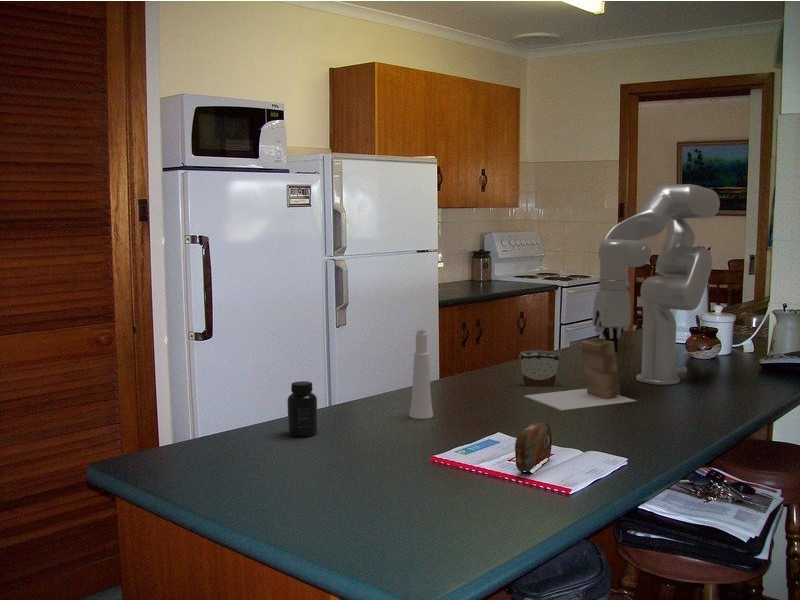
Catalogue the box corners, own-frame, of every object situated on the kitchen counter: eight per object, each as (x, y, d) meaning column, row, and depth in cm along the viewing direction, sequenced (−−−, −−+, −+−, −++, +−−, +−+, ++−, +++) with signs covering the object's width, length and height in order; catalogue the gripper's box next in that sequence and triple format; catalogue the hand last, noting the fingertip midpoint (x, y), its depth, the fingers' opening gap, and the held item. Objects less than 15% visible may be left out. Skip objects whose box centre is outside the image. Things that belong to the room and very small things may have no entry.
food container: (558, 383, 243) (559, 350, 242) (560, 388, 237) (561, 354, 236) (517, 382, 245) (517, 349, 243) (518, 387, 238) (518, 353, 237)
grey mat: (595, 388, 236) (595, 387, 236) (636, 402, 219) (637, 400, 219) (524, 396, 226) (524, 395, 226) (562, 411, 210) (562, 409, 210)
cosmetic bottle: (404, 416, 205) (404, 329, 203) (420, 411, 210) (420, 327, 207) (422, 420, 201) (422, 332, 199) (438, 415, 206) (438, 329, 203)
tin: (527, 479, 158) (527, 436, 157) (511, 476, 159) (512, 434, 158) (553, 458, 171) (553, 419, 170) (538, 456, 172) (539, 417, 171)
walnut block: (601, 388, 230) (595, 337, 228) (620, 394, 223) (614, 341, 220) (587, 393, 229) (580, 341, 226) (605, 399, 221) (598, 346, 219)
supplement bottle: (322, 431, 192) (321, 381, 191) (310, 438, 185) (309, 387, 184) (296, 428, 194) (295, 379, 193) (282, 436, 188) (281, 385, 186)
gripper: (626, 284, 230) (624, 348, 232) (582, 285, 224) (580, 352, 226) (644, 286, 223) (641, 352, 225) (600, 288, 217) (598, 356, 219)
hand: (611, 352), depth 225 cm, fingers closed
